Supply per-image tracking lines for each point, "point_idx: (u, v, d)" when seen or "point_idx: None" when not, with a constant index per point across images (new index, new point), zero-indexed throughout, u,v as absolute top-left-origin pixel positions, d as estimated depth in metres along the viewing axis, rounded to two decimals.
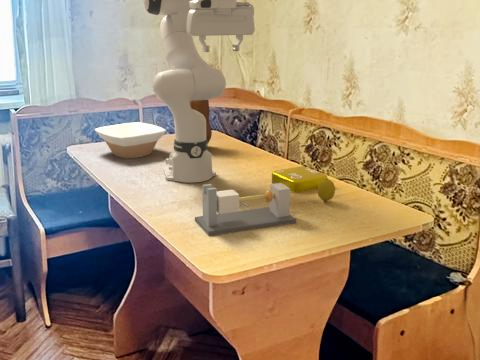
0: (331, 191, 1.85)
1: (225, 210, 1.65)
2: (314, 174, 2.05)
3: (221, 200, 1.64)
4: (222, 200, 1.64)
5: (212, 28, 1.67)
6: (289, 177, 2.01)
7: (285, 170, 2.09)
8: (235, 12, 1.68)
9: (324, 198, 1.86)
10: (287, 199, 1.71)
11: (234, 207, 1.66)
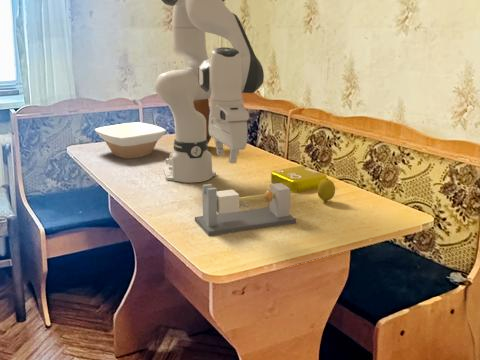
0: (331, 191, 1.85)
1: (225, 210, 1.65)
2: (313, 174, 2.05)
3: (221, 200, 1.64)
4: (222, 200, 1.64)
5: None
6: (288, 177, 2.01)
7: (284, 170, 2.09)
8: None
9: (324, 198, 1.86)
10: (287, 199, 1.71)
11: (234, 207, 1.66)
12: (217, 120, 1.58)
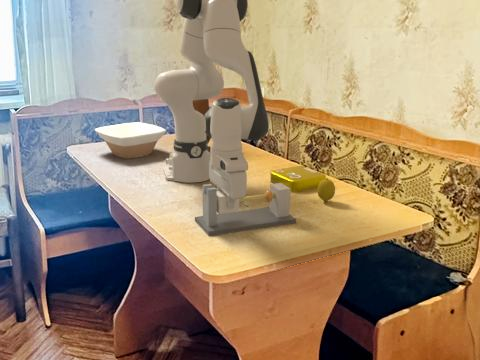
0: (331, 191, 1.85)
1: (225, 210, 1.65)
2: (313, 174, 2.05)
3: (221, 200, 1.64)
4: (222, 200, 1.64)
5: None
6: (288, 177, 2.01)
7: (284, 170, 2.09)
8: None
9: (324, 198, 1.86)
10: (287, 199, 1.71)
11: (234, 207, 1.66)
12: (217, 168, 1.62)
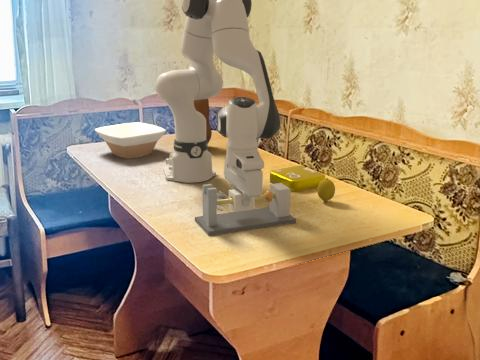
0: (331, 191, 1.85)
1: (241, 208, 1.67)
2: (312, 173, 2.05)
3: (237, 198, 1.65)
4: (238, 198, 1.65)
5: None
6: (287, 176, 2.02)
7: (283, 169, 2.10)
8: None
9: (324, 198, 1.86)
10: (287, 199, 1.71)
11: None
12: (233, 167, 1.64)
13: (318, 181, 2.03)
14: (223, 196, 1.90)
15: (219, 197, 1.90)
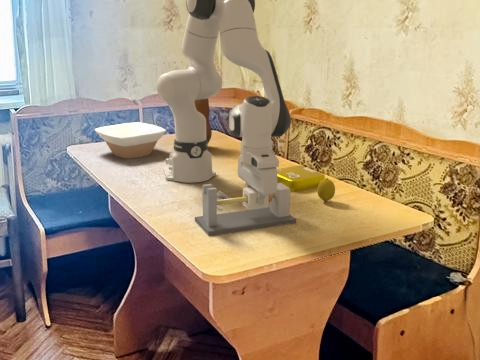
0: (331, 191, 1.85)
1: (255, 206, 1.68)
2: (312, 173, 2.06)
3: (251, 196, 1.67)
4: (252, 196, 1.67)
5: None
6: (287, 176, 2.02)
7: (283, 169, 2.10)
8: None
9: (324, 198, 1.86)
10: (287, 199, 1.71)
11: (264, 203, 1.69)
12: (248, 165, 1.65)
13: (318, 181, 2.03)
14: (223, 196, 1.90)
15: (219, 197, 1.90)
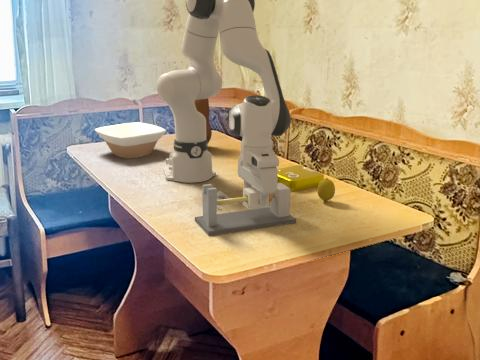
0: (331, 191, 1.85)
1: (255, 206, 1.68)
2: (311, 173, 2.06)
3: (251, 196, 1.67)
4: (252, 196, 1.67)
5: None
6: (286, 176, 2.02)
7: (282, 169, 2.10)
8: None
9: (324, 198, 1.86)
10: (287, 199, 1.71)
11: None
12: (248, 164, 1.65)
13: (317, 180, 2.03)
14: (223, 196, 1.90)
15: (219, 197, 1.90)
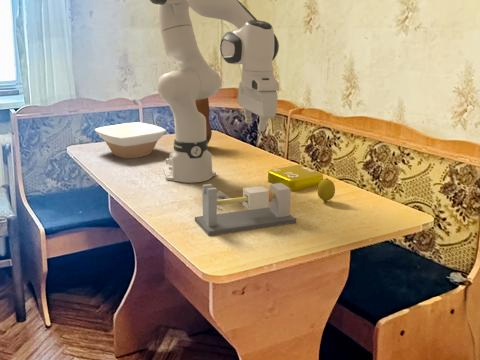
0: (331, 191, 1.85)
1: (255, 206, 1.68)
2: (310, 173, 2.06)
3: (251, 196, 1.67)
4: (252, 196, 1.67)
5: None
6: (286, 176, 2.02)
7: (281, 169, 2.10)
8: None
9: (324, 198, 1.86)
10: (287, 199, 1.71)
11: (264, 203, 1.69)
12: (248, 89, 1.66)
13: (316, 180, 2.03)
14: (223, 196, 1.91)
15: (219, 197, 1.90)
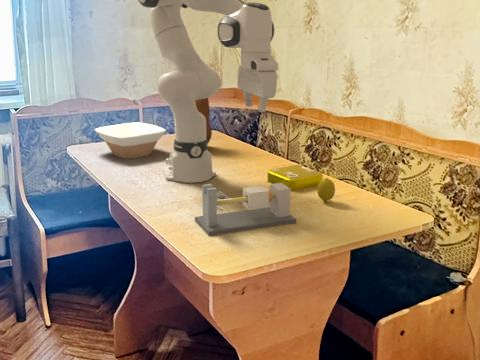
0: (331, 191, 1.85)
1: (255, 206, 1.68)
2: (310, 172, 2.06)
3: (251, 196, 1.67)
4: (252, 196, 1.67)
5: None
6: (285, 176, 2.02)
7: (281, 169, 2.11)
8: None
9: (324, 198, 1.86)
10: (287, 199, 1.71)
11: (264, 203, 1.69)
12: (247, 71, 1.68)
13: (316, 180, 2.04)
14: (223, 196, 1.91)
15: (219, 197, 1.90)
